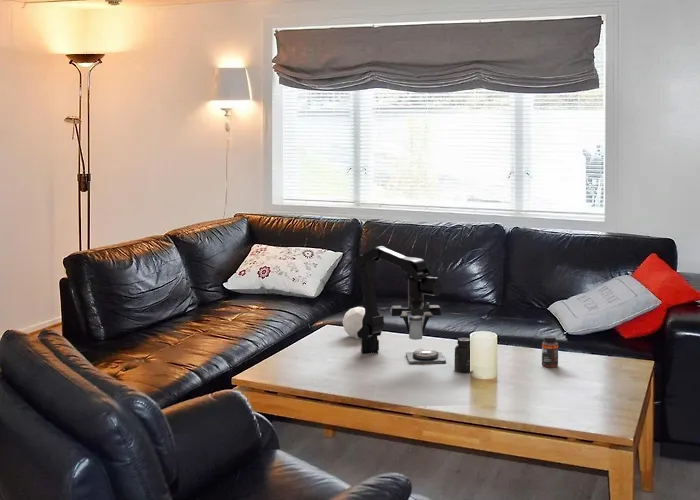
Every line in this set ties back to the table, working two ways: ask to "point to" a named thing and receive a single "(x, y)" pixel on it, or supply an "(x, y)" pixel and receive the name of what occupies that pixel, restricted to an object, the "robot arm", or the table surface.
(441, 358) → the base
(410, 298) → the robot arm
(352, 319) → the geodesic sphere
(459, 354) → the supplement bottle
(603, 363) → the table surface
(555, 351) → the supplement bottle
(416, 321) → the knob
